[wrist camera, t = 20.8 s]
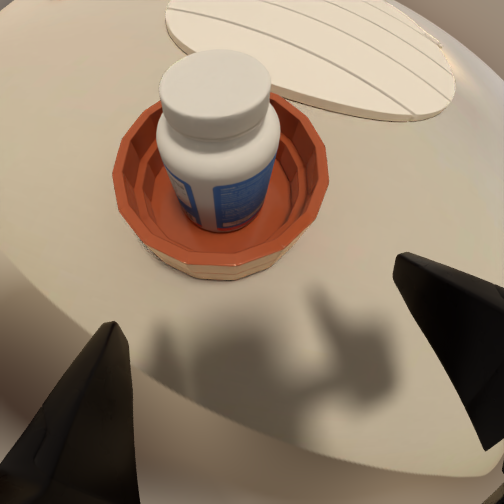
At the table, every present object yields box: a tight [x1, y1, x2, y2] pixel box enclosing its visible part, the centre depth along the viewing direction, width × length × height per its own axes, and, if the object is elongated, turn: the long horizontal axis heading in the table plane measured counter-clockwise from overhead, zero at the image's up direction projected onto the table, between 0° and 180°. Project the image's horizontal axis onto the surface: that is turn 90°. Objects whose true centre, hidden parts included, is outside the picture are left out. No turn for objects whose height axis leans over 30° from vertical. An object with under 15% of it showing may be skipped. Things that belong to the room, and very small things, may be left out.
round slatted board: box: [165, 0, 455, 122], centre depth 24 cm, size 40×39×3 cm
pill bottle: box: [156, 49, 280, 232], centre depth 13 cm, size 6×5×10 cm
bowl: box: [112, 92, 329, 280], centre depth 16 cm, size 11×11×5 cm
